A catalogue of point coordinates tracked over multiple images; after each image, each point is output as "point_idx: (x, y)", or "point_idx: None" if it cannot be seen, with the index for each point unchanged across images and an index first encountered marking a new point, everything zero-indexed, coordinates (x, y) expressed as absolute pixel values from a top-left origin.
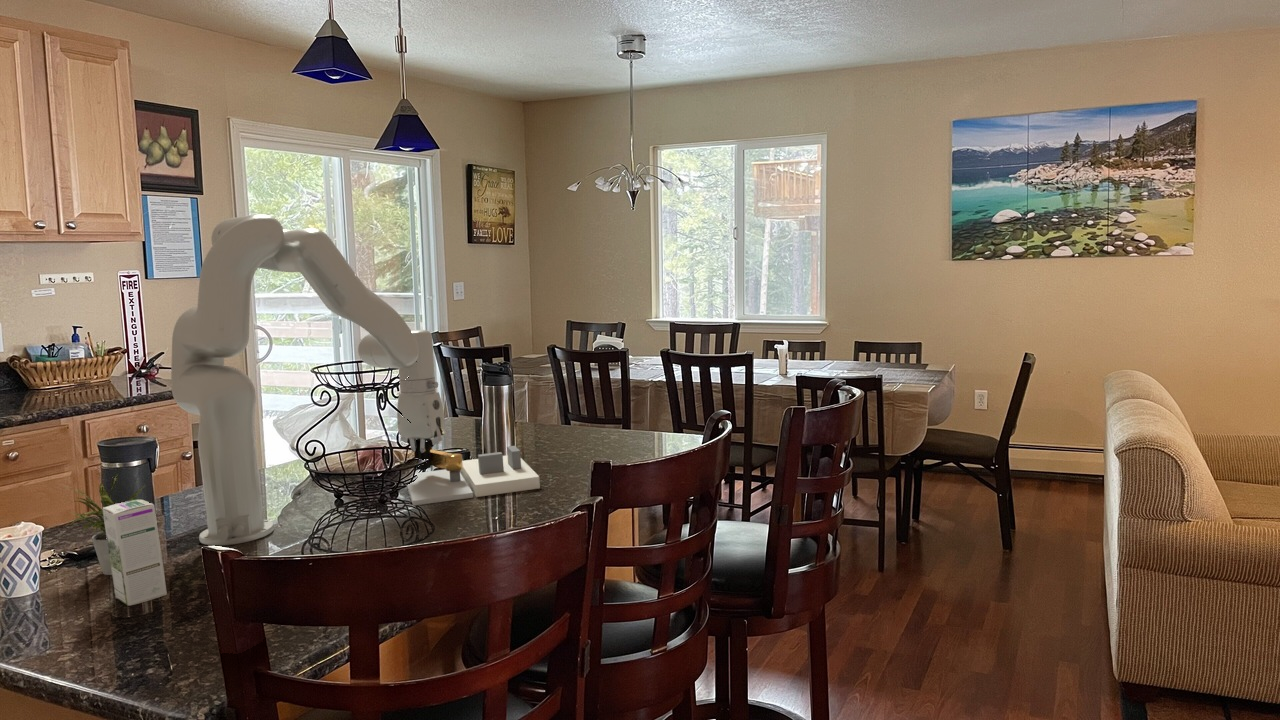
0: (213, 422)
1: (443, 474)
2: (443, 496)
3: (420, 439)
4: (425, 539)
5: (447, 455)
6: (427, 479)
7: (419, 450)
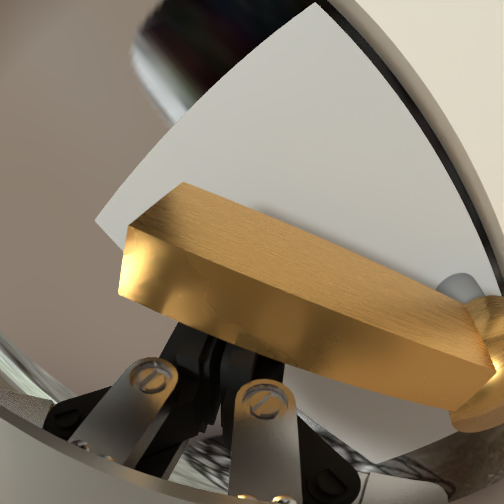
0: None
1: (324, 179)
2: (451, 433)
3: (135, 460)
4: (448, 500)
5: (465, 408)
6: None
7: (200, 418)
